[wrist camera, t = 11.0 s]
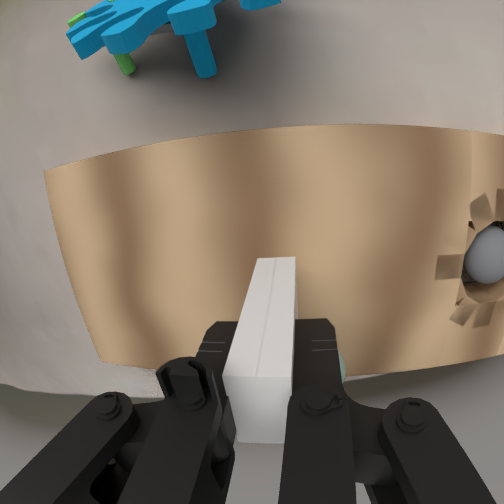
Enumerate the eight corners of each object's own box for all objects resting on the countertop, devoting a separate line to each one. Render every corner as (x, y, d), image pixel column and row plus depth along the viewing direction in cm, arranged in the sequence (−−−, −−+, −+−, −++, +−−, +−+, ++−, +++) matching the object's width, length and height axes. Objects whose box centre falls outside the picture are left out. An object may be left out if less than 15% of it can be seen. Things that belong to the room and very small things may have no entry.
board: (117, 340, 21) (101, 361, 19) (70, 164, 16) (43, 171, 14) (533, 323, 16) (549, 341, 13) (564, 149, 11) (587, 155, 9)
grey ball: (493, 278, 14) (450, 276, 15) (498, 224, 14) (454, 221, 15) (518, 289, 11) (471, 289, 12) (524, 227, 11) (477, 222, 12)
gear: (311, -59, 9) (272, -12, 5) (319, 30, 14) (292, 151, 10) (122, -27, 11) (4, 65, 8) (151, 41, 17) (68, 147, 13)
